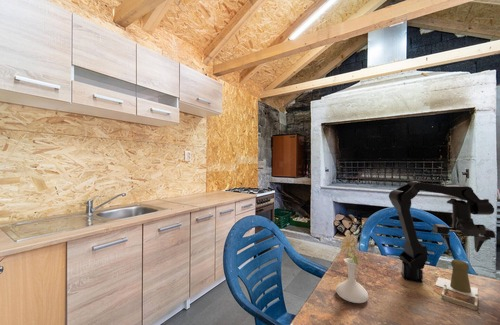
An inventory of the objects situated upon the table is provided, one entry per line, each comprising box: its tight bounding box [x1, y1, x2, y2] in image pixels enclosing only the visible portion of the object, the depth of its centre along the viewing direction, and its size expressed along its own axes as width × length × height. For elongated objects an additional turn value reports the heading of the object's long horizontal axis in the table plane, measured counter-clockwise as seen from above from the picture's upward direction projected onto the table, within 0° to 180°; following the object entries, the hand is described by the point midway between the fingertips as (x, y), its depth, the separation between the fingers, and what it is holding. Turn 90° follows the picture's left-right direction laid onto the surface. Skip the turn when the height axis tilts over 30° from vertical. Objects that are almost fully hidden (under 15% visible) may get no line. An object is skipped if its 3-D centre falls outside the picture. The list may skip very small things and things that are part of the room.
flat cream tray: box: [440, 285, 479, 311], centre depth 79 cm, size 9×9×2 cm
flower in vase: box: [335, 233, 369, 304], centre depth 81 cm, size 13×11×25 cm
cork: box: [450, 259, 471, 293], centre depth 85 cm, size 6×6×11 cm
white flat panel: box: [434, 276, 479, 299], centre depth 87 cm, size 9×12×1 cm
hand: (462, 250), depth 92 cm, fingers open, 9 cm apart
